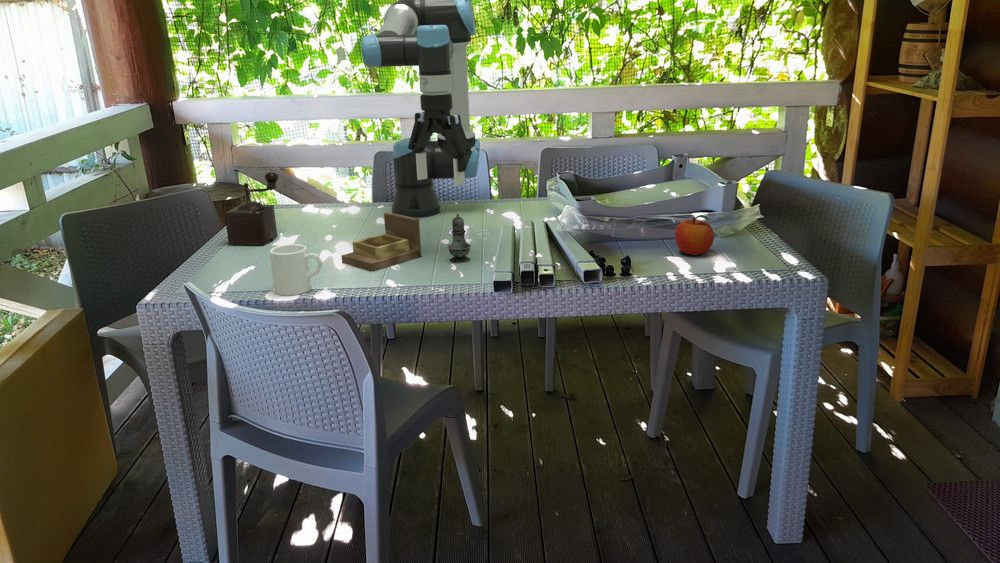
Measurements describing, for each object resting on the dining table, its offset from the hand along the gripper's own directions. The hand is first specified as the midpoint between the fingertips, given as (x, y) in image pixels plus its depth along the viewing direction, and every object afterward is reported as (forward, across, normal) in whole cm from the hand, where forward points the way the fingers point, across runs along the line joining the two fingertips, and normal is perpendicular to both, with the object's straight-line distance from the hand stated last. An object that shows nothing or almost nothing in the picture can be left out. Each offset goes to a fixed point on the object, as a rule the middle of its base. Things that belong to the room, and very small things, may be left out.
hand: (440, 182), depth 198 cm
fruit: (+20, +45, +44) cm, 66 cm away
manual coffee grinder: (+20, -58, -19) cm, 64 cm away
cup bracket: (+20, -13, -10) cm, 26 cm away
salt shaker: (+20, +3, +2) cm, 20 cm away
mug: (+20, -8, -37) cm, 43 cm away
